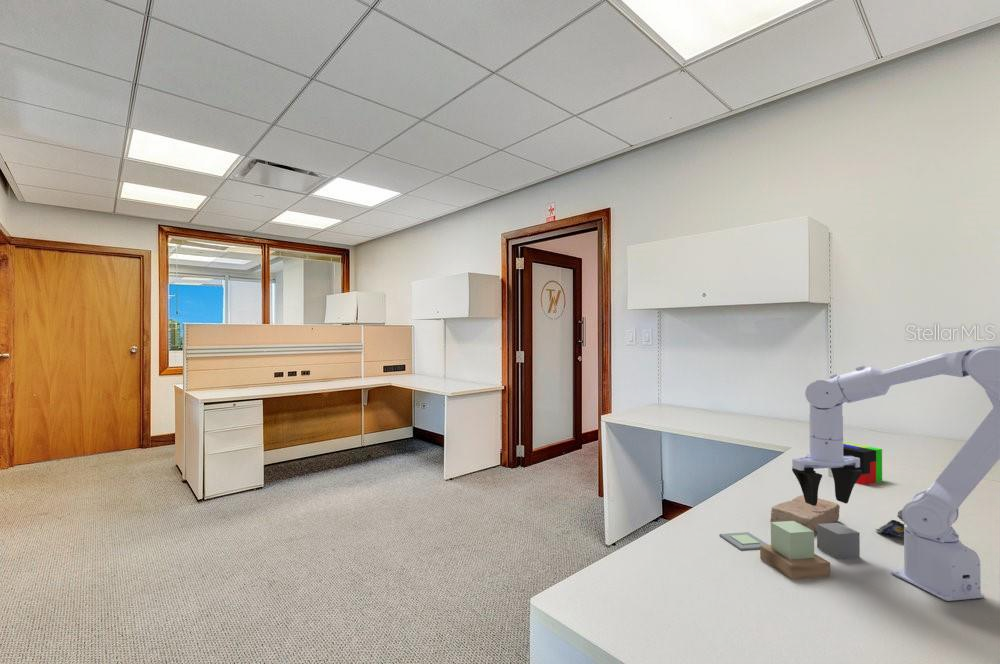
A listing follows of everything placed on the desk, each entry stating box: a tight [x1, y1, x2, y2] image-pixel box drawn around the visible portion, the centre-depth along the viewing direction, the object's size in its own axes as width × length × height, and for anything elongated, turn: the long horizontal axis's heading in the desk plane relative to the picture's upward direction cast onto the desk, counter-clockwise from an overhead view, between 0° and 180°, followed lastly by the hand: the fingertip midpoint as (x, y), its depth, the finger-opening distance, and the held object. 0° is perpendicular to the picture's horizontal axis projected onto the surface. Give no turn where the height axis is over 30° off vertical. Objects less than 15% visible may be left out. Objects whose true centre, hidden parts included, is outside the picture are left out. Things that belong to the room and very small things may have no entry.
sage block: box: [770, 521, 815, 560], centre depth 88 cm, size 5×5×5 cm
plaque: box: [719, 531, 769, 551], centre depth 98 cm, size 7×7×1 cm
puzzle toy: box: [827, 442, 883, 486], centre depth 144 cm, size 10×10×10 cm
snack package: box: [875, 508, 905, 538], centre depth 101 cm, size 12×7×12 cm
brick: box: [770, 494, 840, 533], centre depth 109 cm, size 17×8×5 cm, turn 122°
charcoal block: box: [816, 522, 861, 560], centre depth 94 cm, size 5×5×5 cm
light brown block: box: [759, 544, 831, 580], centre depth 88 cm, size 8×8×3 cm
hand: (826, 502), depth 95 cm, fingers open, 7 cm apart
